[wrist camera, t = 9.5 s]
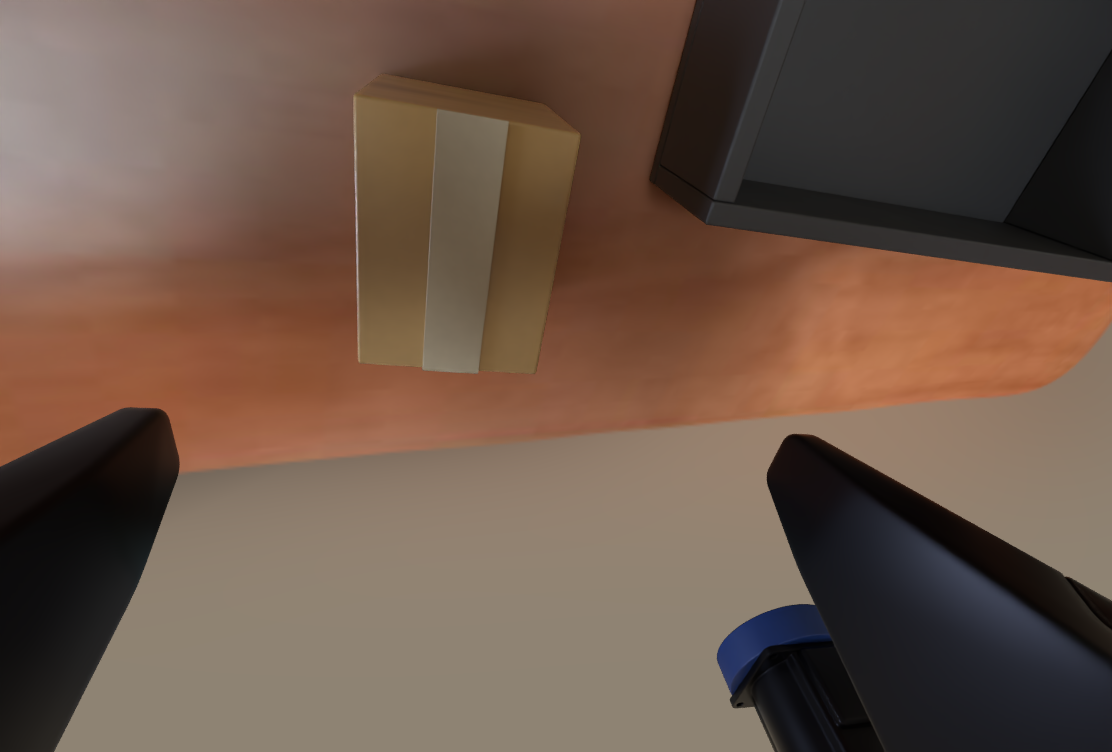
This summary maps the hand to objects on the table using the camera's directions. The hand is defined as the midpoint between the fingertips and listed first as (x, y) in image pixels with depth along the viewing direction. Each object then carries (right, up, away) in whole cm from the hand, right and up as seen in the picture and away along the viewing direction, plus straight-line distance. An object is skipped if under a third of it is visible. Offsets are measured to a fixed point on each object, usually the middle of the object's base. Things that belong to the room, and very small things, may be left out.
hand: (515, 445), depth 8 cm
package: (-2, +6, +8) cm, 11 cm away
